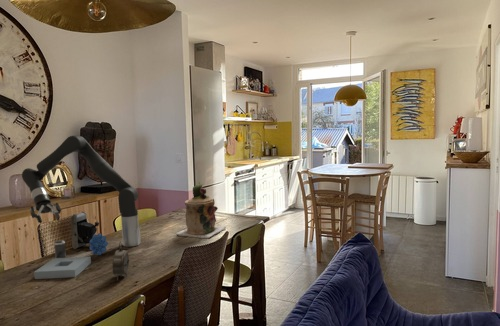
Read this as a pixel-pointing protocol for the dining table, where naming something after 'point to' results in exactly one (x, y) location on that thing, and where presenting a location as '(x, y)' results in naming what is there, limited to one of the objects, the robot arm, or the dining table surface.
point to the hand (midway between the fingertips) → (49, 220)
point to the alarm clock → (120, 262)
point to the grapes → (98, 244)
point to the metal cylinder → (60, 249)
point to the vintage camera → (81, 230)
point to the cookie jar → (200, 215)
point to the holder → (62, 267)
